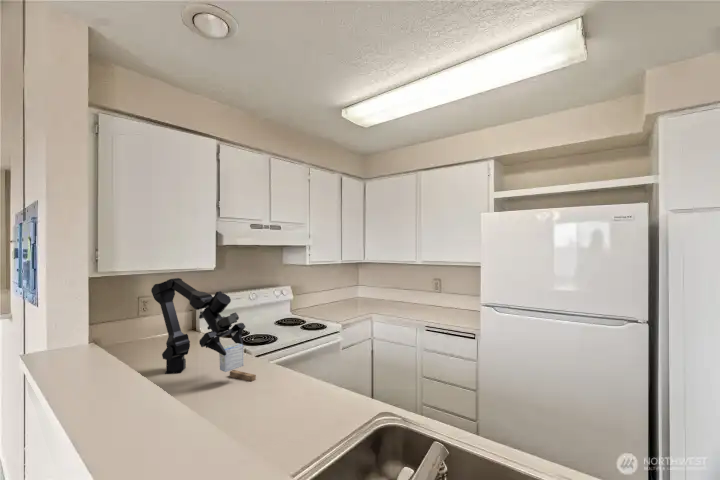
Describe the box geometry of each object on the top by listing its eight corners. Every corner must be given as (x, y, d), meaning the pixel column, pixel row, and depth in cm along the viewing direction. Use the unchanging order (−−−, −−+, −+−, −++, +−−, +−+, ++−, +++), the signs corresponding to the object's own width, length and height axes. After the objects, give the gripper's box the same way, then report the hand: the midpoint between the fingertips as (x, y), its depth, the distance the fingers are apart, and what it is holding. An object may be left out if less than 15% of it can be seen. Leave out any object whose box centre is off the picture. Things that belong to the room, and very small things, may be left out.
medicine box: (238, 364, 135) (237, 342, 135) (244, 366, 132) (243, 344, 132) (219, 370, 129) (218, 347, 129) (225, 372, 126) (224, 349, 126)
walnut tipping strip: (229, 377, 137) (229, 371, 137) (233, 375, 139) (233, 369, 139) (252, 382, 132) (252, 376, 132) (255, 381, 133) (255, 374, 133)
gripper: (204, 311, 123) (226, 345, 119) (242, 303, 140) (262, 332, 135) (190, 330, 127) (210, 364, 122) (228, 319, 144) (247, 349, 139)
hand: (234, 351), depth 129 cm, fingers closed on medicine box, 8 cm apart
